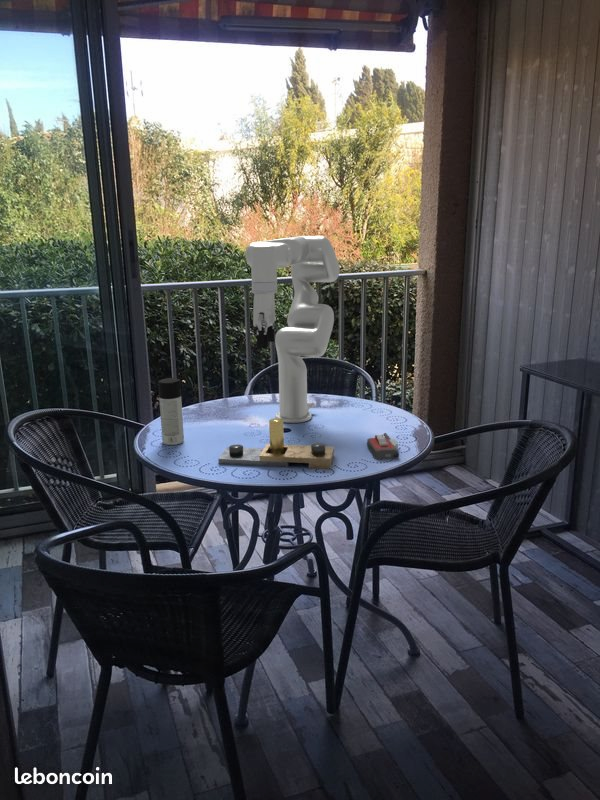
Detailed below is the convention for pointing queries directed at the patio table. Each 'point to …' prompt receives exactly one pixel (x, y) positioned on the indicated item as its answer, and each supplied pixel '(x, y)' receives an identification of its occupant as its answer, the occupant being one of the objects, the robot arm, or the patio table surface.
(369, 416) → the patio table surface
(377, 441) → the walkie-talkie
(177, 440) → the spray can
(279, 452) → the pin
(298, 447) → the peg insertion board
